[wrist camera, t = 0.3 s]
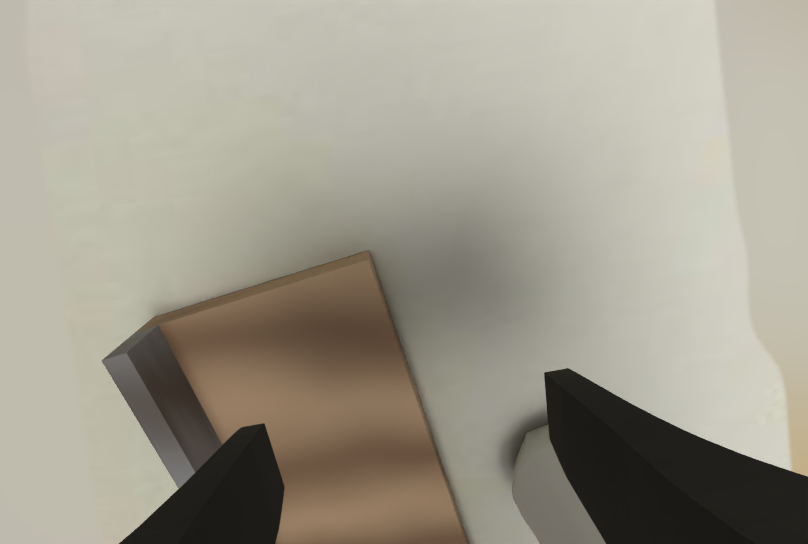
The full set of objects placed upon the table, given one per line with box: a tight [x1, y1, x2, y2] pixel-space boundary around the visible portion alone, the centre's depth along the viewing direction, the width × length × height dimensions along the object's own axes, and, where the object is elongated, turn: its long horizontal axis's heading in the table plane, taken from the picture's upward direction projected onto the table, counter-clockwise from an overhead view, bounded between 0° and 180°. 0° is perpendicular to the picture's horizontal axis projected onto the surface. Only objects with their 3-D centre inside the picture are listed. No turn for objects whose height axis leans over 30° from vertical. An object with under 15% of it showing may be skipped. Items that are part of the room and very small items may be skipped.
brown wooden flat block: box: [102, 251, 469, 544], centre depth 21 cm, size 20×11×4 cm, turn 17°
